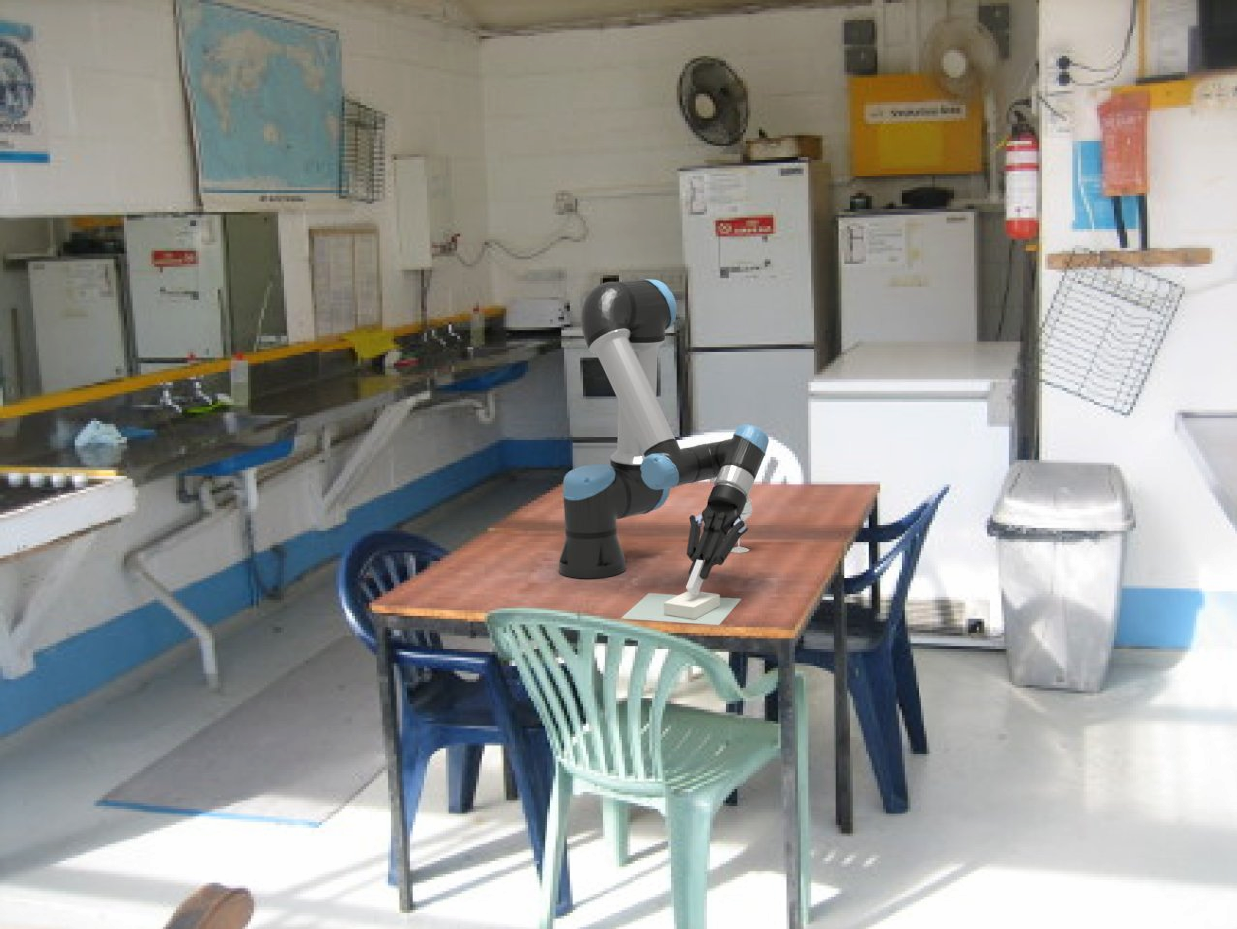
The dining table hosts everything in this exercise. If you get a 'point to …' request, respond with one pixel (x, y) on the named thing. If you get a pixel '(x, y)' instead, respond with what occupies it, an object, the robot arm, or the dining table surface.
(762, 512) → the dining table surface
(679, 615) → the box
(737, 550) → the wineglass
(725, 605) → the mat
